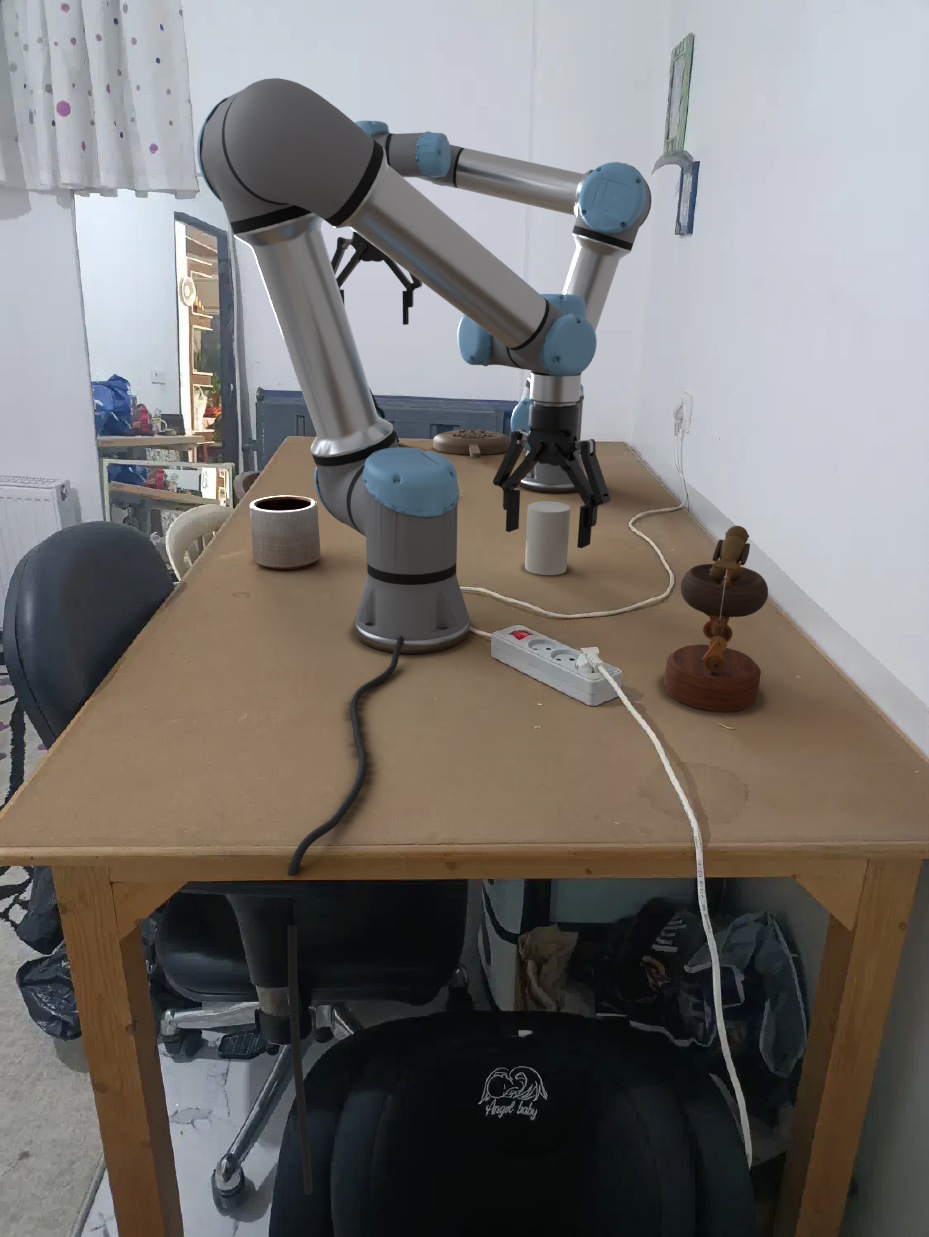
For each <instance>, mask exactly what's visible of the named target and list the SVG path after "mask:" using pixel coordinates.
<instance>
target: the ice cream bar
mask: <svg viewBox="0 0 929 1237" xmlns="http://www.w3.org/2000/svg"><path fill="white" fill-rule="evenodd" d="M432 440H433V446H432V447H433V448H434V450H436V451H439V452H442V453H447V454H455V455H457V454H458V455H470V458H472V459H480V458H481V455H494V454H501V453H506V452H507V450H508V448H509V446H510V442H511V437H510V436H509V435H508V434H505V433H501V432H496V431H492V430H482V429H477V430H475V429H468V430H466V429H465V428H463V429H461V430H460V429H457V430H450V431H444V432H441V433H437V434H436V435H435V436H433V439H432Z"/></svg>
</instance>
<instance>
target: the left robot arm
mask: <svg viewBox="0 0 929 1237" xmlns="http://www.w3.org/2000/svg"><path fill="white" fill-rule="evenodd" d="M196 144H197V145H196V154H197V163H198V168H199V171H200V174H201V176H202V178H203V180H204V183H205V184H206V186H207V188H208V189H209V191H211V193H212V194H213V195H214V197H216V199H217V200H218V201H219V202H220V203H222V206H223V209H224V212H225V214H226V218H227V220H228V223H229V225H230V228H231V231H232V233H233V236H234V238H236V239H237V240H239V241H240V242H242V243H244V244H246V245H247V246H249V248H251V249H252V252H253V256H254V258H255V260H256V264H257V266H258V269H259V272H260V275H261V279H262V281H263V284H264V287H265V290H266V292H267V296H268V298H269V302H270V304H271V307H272V310H273V312H274V316H275V318H276V321H277V324H278V328H279V330H280V333H281V336H282V339H283V341H284V342H283V343H284V344H285V348H286V350H287V353H288V355H289V359H290V361H291V364H292V368H293V370H294V373H295V376H296V378H297V382H298V384H299V386H300V387H299V388H300V390H301V393H302V397H303V399H304V402H305V404H306V408H307V411H308V414H309V416H310V420H311V422H312V425H313V427H314V430H315V433H316V436H315V438H314V440H313V442H312V444H311V446H310V453H311V457H312V459H313V462H314V464H315V467H314V475H313V481H314V482H313V483H314V488H315V492H316V495H317V497H318V499H319V501H320V503H321V504H322V506H323V507H324V509H325V510H326V511H327V512H328V513H329V514H330V515H331V516H332V517H333V518H335V519H336V520H337V521H338V522H339V523H341V524H344V525H345V526H346V525H347V526H348V527H350V528H351V529H353V530H355V531H356V532H357V533H359V534H361V535H362V536H364V538H365V545H366V546H365V548H366V579H365V584H364V586H363V589H362V592H361V596H360V600H359V602H358V606H357V609H356V612H355V615H354V633H355V636H356V638H357V639H358V640H359V641H360V642H362V643H363V644H365V645H367V646H368V647H371V648H374V649H377V650H380V651H384V652H390V653H392V656H391V661H390V665H389V666H388V668H387V669H386V670H385V671H384V672H382V674H379V675H378V676H377V677H375V678H373V679H371V680H369V681H367V682H365V683H363V685H361V686H360V687H359V688H358V689H357V690H356V691H355V692H354V694H353V696H352V698H351V700H350V705H349V711H350V718H351V724H352V735H353V740H354V744H355V748H356V751H357V756H358V769H357V773H356V777H355V780H354V783H353V785H352V787H351V789H350V791H349V792H348V794H347V796H346V798H345V799H344V800H343V802H342V803H341V805H340V806H339V808H338V809H337V810H336V812H335V813H334V814H333V816H331V817H330V818H329V819H328V820H327V821H326V822H324V823H322V824H321V825H319V826H318V827H316V828H315V829H313V830H312V831H311V832H309V833H308V834H307V835H306V836H305V837H304V838H303V839H302V840H301V842H300V843H299V844H298V846H297V848H296V849H295V851H294V853H293V855H292V857H291V860H290V862H289V864H288V865H289V866H288V869H287V876H289V877H293V876H296V875H297V874H298V872H299V868H300V865H301V862H302V860H303V858H304V855H305V854H306V852H307V850H309V847H311V845H313V843H314V842H316V841H317V840H318V839H320V838H321V837H323V836H324V835H326V834H327V833H329V832H330V831H332V830H333V829H334V828H335V827H336V826H337V825H339V823H340V822H341V820H342V819H343V818H344V816H345V815H346V813H347V812H348V811H349V809H350V808H351V807H352V805H353V804H354V802H355V800H356V799H357V797H358V795H359V793H360V792H361V789H362V787H363V784H364V781H365V778H366V774H367V769H368V760H367V753H366V748H365V744H364V741H363V738H362V734H361V733H362V732H361V725H360V719H359V718H360V717H359V713H358V704H359V701H360V699H361V697H362V696H363V695H364V694H365V693H367V691H370V690H371V689H372V688H374V687H376V686H377V685H380V684H382V682H384V681H386V680H387V679H388V678H390V676H391V675H392V674H393V673H394V672H395V670H396V668H397V666H398V664H399V663H398V662H399V659H400V654H425V653H433V652H439V651H443V650H446V649H449V648H452V647H455V646H457V645H458V644H460V643H462V642H463V641H464V640H466V639H467V637H468V636H469V634H470V615H469V612H468V608H467V606H466V601H465V599H464V596H463V593H462V589H461V586H460V583H459V581H458V577H457V561H458V560H457V559H458V558H457V557H458V556H457V554H458V508H459V507H458V506H459V504H458V503H459V498H460V489H459V484H458V483H459V482H458V473H457V469H456V467H455V465H454V463H453V462H452V461H451V460H450V459H448V458H447V457H446V456H444V455H442V454H441V453H437V452H435V451H431V450H422V449H421V448H415V447H401V446H399V443H398V442H397V439H396V436H395V432H396V431H395V429H394V426H393V424H392V423H391V422H390V421H388V420H387V419H385V418H384V419H382V418H380V417H379V416H378V415H377V412H376V408H375V405H374V402H373V399H372V395H371V392H370V389H371V388H370V386H369V383H368V379H367V376H366V373H365V369H364V366H363V363H362V360H361V357H360V356H361V355H360V353H359V350H358V347H357V344H356V340H355V337H354V335H353V334H354V333H353V329H352V327H351V324H350V321H349V317H348V313H347V310H346V306H345V307H344V305H345V303H344V304H343V301H342V297H341V294H340V291H339V287H338V284H337V281H336V278H337V277H336V274H334V271H333V268H332V265H331V261H332V260H331V259H330V255H329V252H328V249H327V245H326V242H325V239H324V236H323V232H322V229H321V228H322V223H323V221H325V222H327V223H328V224H329V226H331V227H333V228H334V229H341V228H346V227H348V228H350V229H351V230H352V231H353V230H354V231H355V232H357V233H358V234H359V235H361V236H362V237H363V238H365V239H366V240H367V241H369V242H370V243H371V244H372V245H374V246H375V247H376V248H378V249H379V250H380V251H382V252H383V253H384V254H386V255H387V256H388V257H390V258H391V259H392V260H394V261H395V263H396V264H397V265H398V266H399V267H400V268H401V267H402V268H403V269H404V270H405V271H407V272H408V273H411V274H412V275H413V276H415V277H416V278H417V279H419V280H420V281H421V282H422V284H424V285H425V286H426V287H427V288H429V289H430V290H432V291H433V292H434V293H435V294H437V295H438V296H440V298H442V299H444V300H445V301H446V302H447V303H449V304H450V305H451V306H452V307H454V308H455V309H457V310H458V311H459V312H461V313H462V314H463V315H462V317H461V318H460V320H459V324H458V328H457V346H458V350H459V353H460V355H461V358H462V359H463V361H464V362H465V363H466V364H468V365H470V366H483V367H488V366H504V367H508V368H514V369H520V370H526V371H530V375H531V385H530V399H531V400H532V401H534V403H532V404H531V405H530V408H529V427H530V432H529V433H527V432H526V431H525V430H524V429H521V430H517V431H513V432H512V431H511V434H510V446H509V448H508V450H507V451H505V454H504V456H503V459H502V460H501V462H500V465H499V467H498V469H497V472H496V473H495V476H494V478H493V480H492V484H493V485H494V487H495V486H496V487H499V488H500V489H502V493H503V494H502V496H503V497H502V508H503V510H504V511H505V512H506V514H505V532H507V533H511V532H514V531H516V530H519V529H520V528H519V527H520V508H521V507H520V506H521V504H520V503H521V489H517V488H519V487H518V486H519V485H518V484H519V483H520V482H521V481H522V480H523V479H524V478H525V476H526V475H527V474H528V473H529V472H530V471H531V469H532V468H533V467H534V466H535V465H536V464H537V463H538V462H539V463H540V464H547V463H548V464H550V465H552V466H559V465H560V467H561V468H562V470H564V471H565V472H566V473H567V475H568V477H569V478H570V480H571V482H572V483H573V485H574V487H575V488H576V490H577V491H576V492H577V494H578V495H579V497H580V498H581V501H582V502H583V503H584V504H583V505H580V506H579V518H578V530H577V531H578V532H577V545H576V546H577V548H579V549H583V548H585V547H587V546H591V538H592V528H593V527H595V526H596V524H597V523H598V522H597V521H598V520H597V519H598V510H599V509H598V508H599V506H602V505H605V504H607V503H609V502H610V501H611V494H610V492H609V490H608V486H607V483H606V480H605V476H604V474H603V471H602V469H601V466H600V463H599V460H598V457H597V451H596V450H597V449H596V448H597V447H596V446H597V445H596V444H597V443H596V441H595V439H594V438H589V439H585V440H584V439H582V440H581V439H580V440H578V439H577V436H576V432H577V428H578V418H579V407H578V405H577V404H575V402H578V401H579V400H580V386H581V384H582V383H581V382H582V374H581V372H582V373H583V372H584V371H585V370H587V368H589V366H590V365H591V363H592V362H593V359H594V357H595V356H596V352H597V342H598V341H597V334H596V332H595V330H594V328H593V326H592V325H591V323H590V322H589V321H588V320H587V319H585V301H584V299H583V297H581V296H580V295H574V294H562V293H539V292H538V291H537V290H536V289H535V288H533V287H532V286H531V285H530V284H529V283H528V282H527V281H525V280H524V279H523V278H522V277H521V276H520V275H518V274H517V273H516V272H515V271H513V270H512V269H511V268H510V267H509V266H507V264H505V263H504V262H503V261H501V259H499V258H498V257H497V256H496V255H495V254H493V253H492V252H491V251H490V250H489V249H487V248H486V247H485V245H483V244H482V243H480V242H479V241H478V240H477V239H476V238H474V237H473V236H472V235H471V234H470V233H469V232H468V231H467V230H466V229H464V228H463V227H462V226H461V225H459V223H457V222H456V221H455V220H453V219H452V218H451V217H450V216H449V215H448V214H446V213H445V212H444V211H443V210H442V209H441V208H440V207H439V206H437V205H436V204H435V203H434V202H432V200H430V199H429V198H428V197H427V196H425V195H424V194H423V193H422V192H421V191H420V190H418V189H417V188H416V187H415V186H414V185H413V184H411V183H410V181H408V180H406V178H405V177H402V176H401V175H399V174H398V173H397V172H396V171H395V170H394V169H392V168H391V167H390V166H389V165H388V164H387V158H386V151H385V149H384V148H383V147H382V146H381V145H380V144H379V143H378V142H376V141H375V140H374V139H373V138H372V137H371V136H370V135H368V134H367V133H366V132H365V131H364V130H363V129H361V128H360V127H359V126H358V125H357V124H355V121H353V119H351V118H350V117H348V116H347V115H346V114H345V113H343V112H342V111H341V110H340V109H339V108H337V107H336V106H335V105H333V104H332V103H331V102H329V100H327V99H326V98H324V97H323V96H321V95H320V94H319V93H317V92H315V90H313V89H311V88H309V87H307V86H305V85H303V84H301V83H299V82H296V81H293V80H291V79H285V78H280V77H273V78H264V79H260V80H257V81H255V82H252V83H251V84H248V85H247V86H246V87H245V88H243V89H242V90H240V91H237V92H235V93H233V94H231V95H229V96H228V97H224V98H222V99H221V100H220V101H219V102H218V103H217V104H216V105H214V106H213V108H211V111H210V112H209V113H208V115H207V116H206V117H205V119H204V121H203V122H202V124H201V126H200V130H199V133H198V137H197V143H196ZM369 388H370V389H369ZM394 431H395V432H394ZM527 442H528V444H529V446H530V448H531V450H530V452H529V453H528V454H527V455H526V454H525V456H524V458H523V460H522V462H521V463H520V464H519V465H518V466H517V467H516V469H515V466H516V464H517V462H518V460H519V458H520V456H521V454H522V452H523V450H524V445H525V444H526V443H527ZM576 449H578V453H579V454H580V457H581V461H582V465H583V469H584V473H585V474H584V473H583V471H582V469H581V467H580V466H579V461H578V459H577V458H576V456H575V454H574V451H575V450H576ZM568 461H569V462H568ZM514 469H515V470H514ZM513 470H514V471H513ZM287 983H288V984H287V985H288V1007H289V1008H288V1010H289V1025H290V1026H289V1027H290V1028H289V1029H290V1042H291V1056H292V1068H293V1077H294V1087H295V1088H294V1089H295V1099H296V1109H297V1119H298V1129H299V1139H300V1140H299V1141H300V1150H301V1151H300V1152H301V1160H302V1161H301V1162H302V1163H301V1164H302V1173H303V1174H302V1175H303V1188H304V1189H303V1190H304V1194H305V1196H310V1195H312V1194H313V1192H314V1191H313V1174H312V1160H311V1149H310V1148H311V1147H310V1137H309V1127H308V1114H307V1105H306V1095H305V1093H306V1092H305V1083H304V1082H305V1081H304V1073H303V1072H304V1071H303V1059H302V1046H301V1045H302V1044H301V1033H300V1032H301V1031H300V1030H301V1029H300V1013H299V1011H300V1010H299V988H298V987H299V986H298V983H299V982H298V926H297V925H294V924H293V925H292V924H287Z"/></svg>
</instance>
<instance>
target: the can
mask: <svg viewBox="0 0 929 1237" xmlns="http://www.w3.org/2000/svg"><path fill="white" fill-rule="evenodd" d="M526 512H527V513H526V537H525V556H524V557H525V558H524V559H525V560H524V569H525V571H526V572H529V573H531V574H534V575H541V576H558V575H562V574H564V573H565V572H566V571H567V568H568V554H569V552H568V551H569V539H570V538H569V537H570V521H571V506H570V505H569V504H566V503H564V502H558V501H550V500H549V501H546V500H544V501H542V500H541V501H534V502H531V503H529V504H528V505H527V511H526Z"/></svg>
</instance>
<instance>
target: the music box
mask: <svg viewBox="0 0 929 1237" xmlns="http://www.w3.org/2000/svg"><path fill="white" fill-rule="evenodd" d="M724 535H725V538H724V539H718V541H717V544H716V546H715V549H714V553H713V556H712V562H713V563H704V564H698V565H696V566H693V567H691V568H689V569H688V570H687V571H686V572H685V573H684V575H683V577H682V578H681V581H680V594H681V596H682V598H683V600H684V601H685V603H686V604H687V605H688V606H689V607H691V608H692V609H694V610H695V611H698V612H701V613H703V614H705V616H707V617H709V620H707V621H706V622H705V623H704V625H703V626H702V633H703V635H704V636H705V637H706V638H707V639H709V641H708V644H691V645H686V646H682V647H679V648H678V649H676V650H674V651H673V652H671V653H670V654H669V655H668V656H667V658H666V663H665V674H664V682H663V687H664V689H665V691H666V692H667V694H668V695H669V696H671V697H672V698H673V699H676V700H677V701H678V702H680V703H682V704H685V705H687V706H689V707H694V708H697V709H702V710H706V711H713V712H714V711H715V712H733V711H739V710H742V709H746V708H748V707H751V706H752V705H754V704H755V702H756V701H757V699H758V693H759V687H760V681H761V676H762V670H761V668H760V666H759V665H758V664H757V663H756V662H755V660H754V659H753V658H752V657H750V656H749V655H747V654H746V653H743V652H741V651H739V650H736V649H734V648H731V647H728V643H729V642H730V641H731V640H732V639H733V629H732V627H731V626H730V625H729V620H730V618H741V617H746V616H751V615H753V614H756V612H758V611H760V610H761V609H762V608H763V607H764V605H765V604H766V602H767V600H768V597H769V587H768V584H767V582H766V580H765V579H764V577H763V576H762V575H761V574H760V573H759V572H757V571H755V570H752V569H750V568H747V567H744V566H745V565H746V563H747V561H748V558H749V555H750V550H751V544H750V542H748V540H749V538H750V535H749V533H748V530H747V529H746V528H745V527H743V526H741V525H734V526H731V527H729V528H728V530H726V531H725V534H724Z"/></svg>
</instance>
